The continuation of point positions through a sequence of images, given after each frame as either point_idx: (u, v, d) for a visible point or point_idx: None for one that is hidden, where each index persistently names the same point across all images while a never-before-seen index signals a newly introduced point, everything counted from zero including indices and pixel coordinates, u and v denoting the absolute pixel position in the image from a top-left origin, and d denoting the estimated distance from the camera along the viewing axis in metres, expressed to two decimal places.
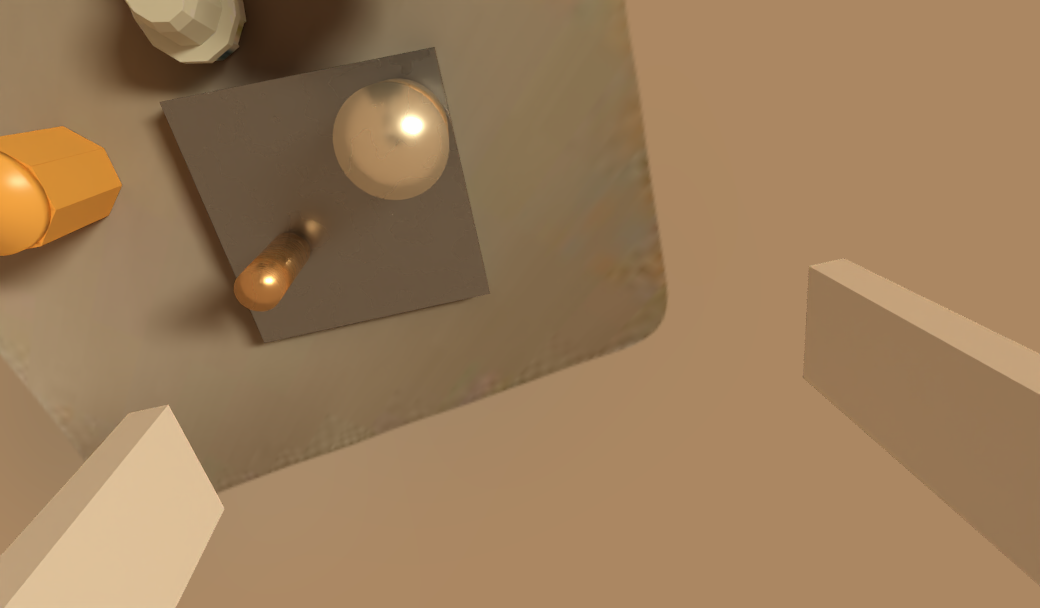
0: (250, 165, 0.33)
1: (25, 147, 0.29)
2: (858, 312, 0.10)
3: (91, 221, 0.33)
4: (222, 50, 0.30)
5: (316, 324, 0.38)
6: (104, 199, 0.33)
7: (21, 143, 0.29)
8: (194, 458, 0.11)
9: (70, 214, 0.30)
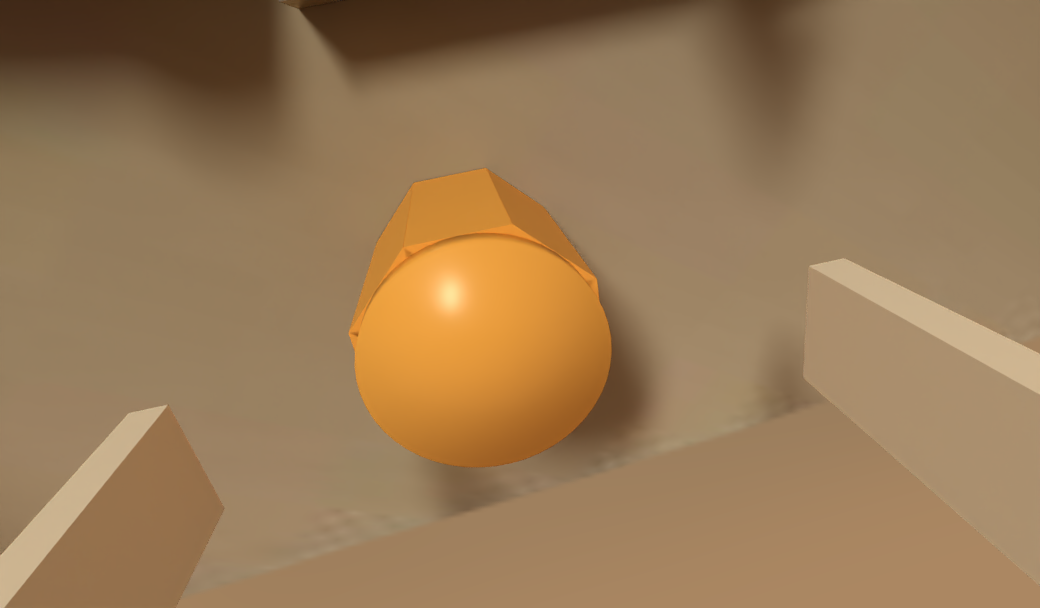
0: None
1: (378, 269, 0.13)
2: (858, 313, 0.10)
3: (551, 220, 0.16)
4: None
5: None
6: (508, 190, 0.16)
7: (373, 276, 0.13)
8: (195, 458, 0.11)
9: (529, 221, 0.13)
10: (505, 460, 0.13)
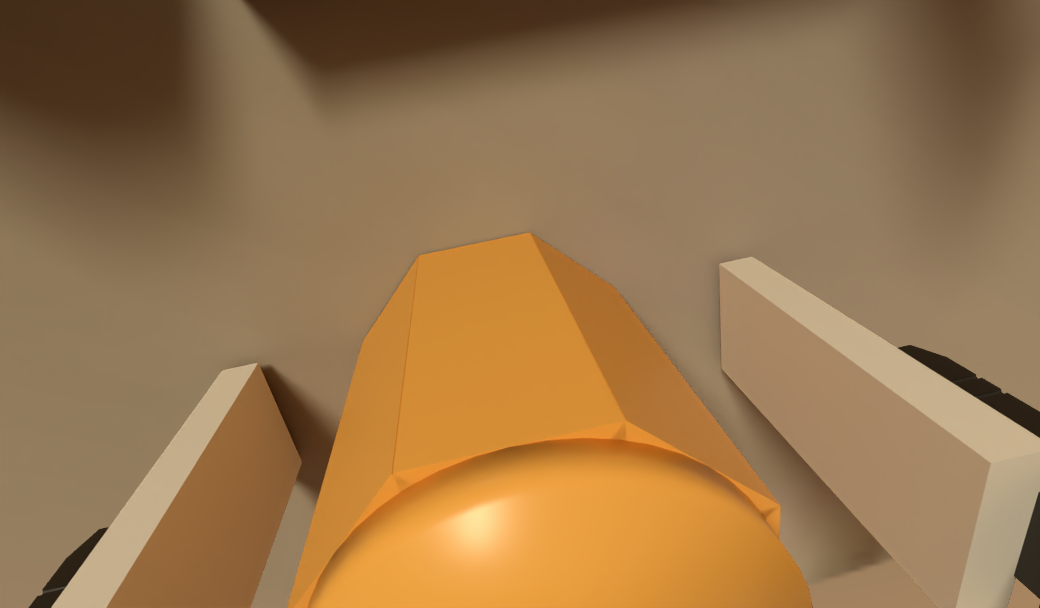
0: None
1: (351, 457, 0.07)
2: (754, 307, 0.11)
3: (638, 323, 0.10)
4: None
5: None
6: (571, 275, 0.10)
7: (342, 463, 0.07)
8: (278, 414, 0.12)
9: (631, 368, 0.07)
10: None
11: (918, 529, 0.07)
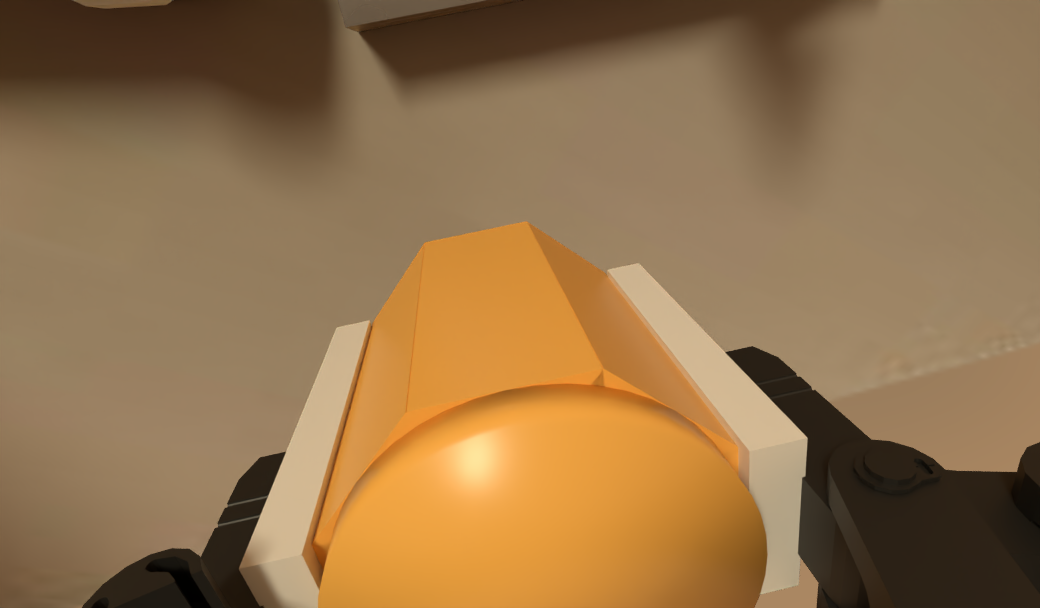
0: None
1: (367, 412, 0.08)
2: None
3: (625, 303, 0.11)
4: None
5: None
6: (563, 258, 0.11)
7: (359, 419, 0.08)
8: None
9: (613, 334, 0.08)
10: None
11: None
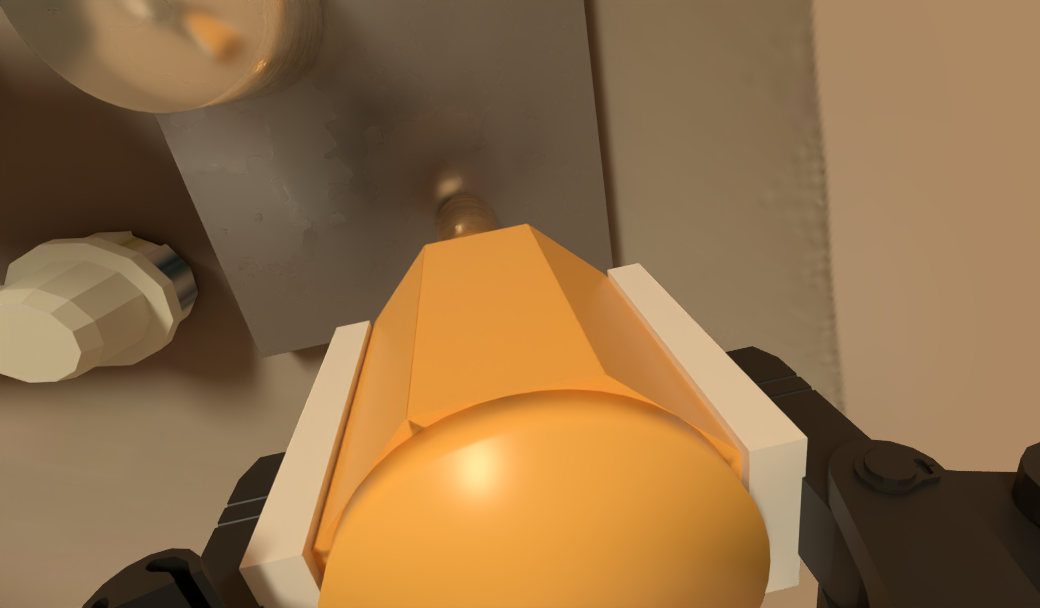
0: (335, 262, 0.23)
1: (368, 416, 0.08)
2: None
3: (627, 306, 0.11)
4: (145, 267, 0.21)
5: (593, 200, 0.23)
6: (564, 261, 0.11)
7: (359, 423, 0.08)
8: None
9: (615, 338, 0.08)
10: None
11: None
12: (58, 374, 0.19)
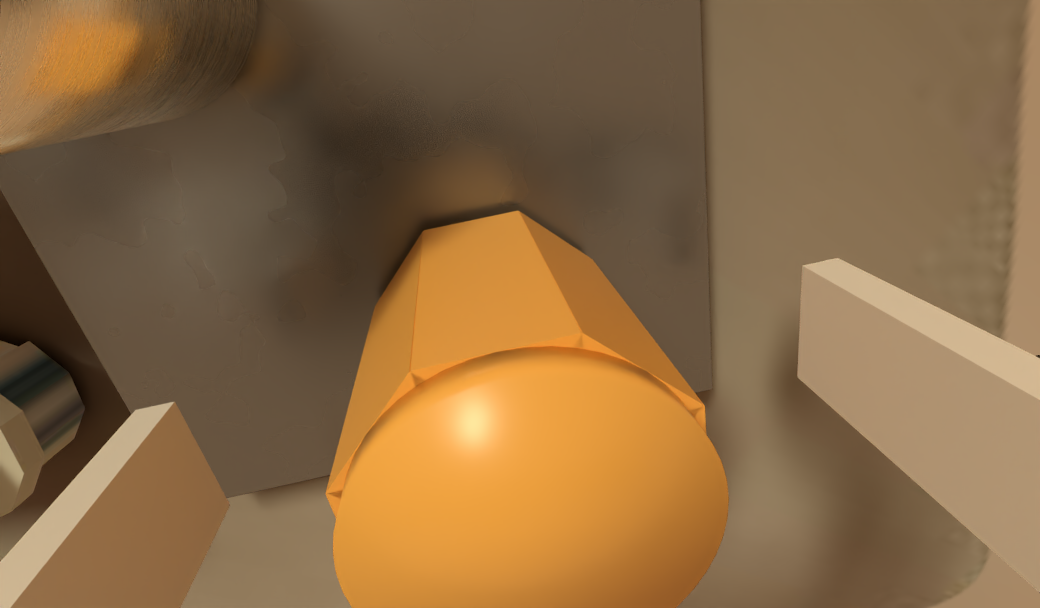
0: (292, 373, 0.15)
1: (373, 378, 0.09)
2: (851, 312, 0.10)
3: (609, 285, 0.12)
4: None
5: (690, 278, 0.15)
6: (552, 244, 0.12)
7: (366, 386, 0.09)
8: (201, 455, 0.11)
9: (594, 308, 0.09)
10: None
11: None
12: None
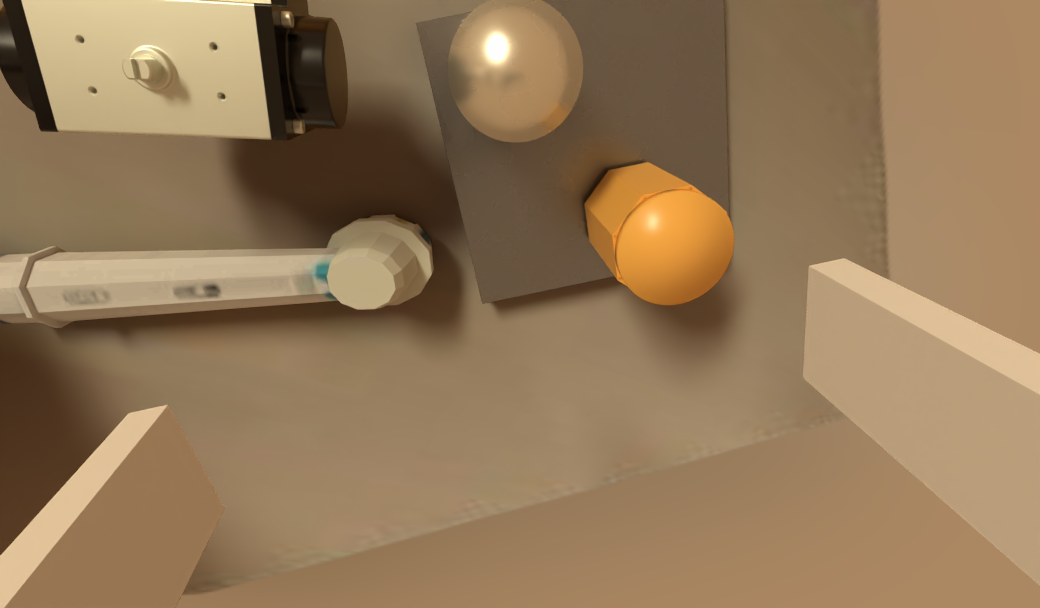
0: (540, 236, 0.33)
1: (616, 209, 0.27)
2: (858, 312, 0.10)
3: None
4: (418, 237, 0.31)
5: (720, 194, 0.33)
6: None
7: (612, 213, 0.27)
8: (195, 458, 0.11)
9: None
10: (677, 303, 0.27)
11: None
12: (377, 304, 0.30)
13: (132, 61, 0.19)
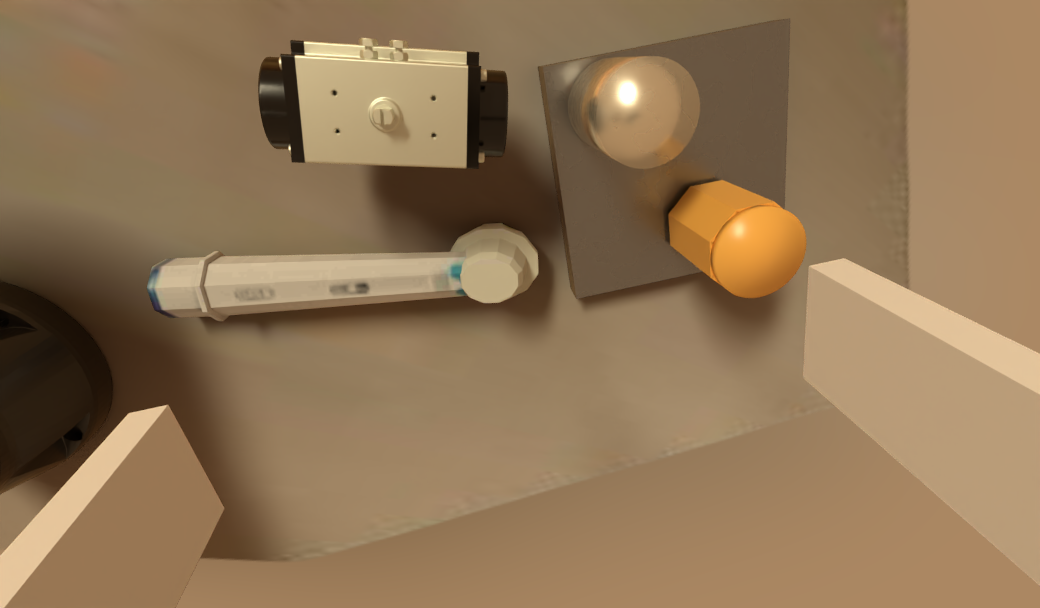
0: (629, 241, 0.39)
1: (708, 220, 0.33)
2: (858, 313, 0.10)
3: None
4: (529, 242, 0.37)
5: None
6: None
7: (704, 223, 0.34)
8: (195, 458, 0.11)
9: None
10: (757, 296, 0.33)
11: None
12: (501, 298, 0.36)
13: (380, 111, 0.24)
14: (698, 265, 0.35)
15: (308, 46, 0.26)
